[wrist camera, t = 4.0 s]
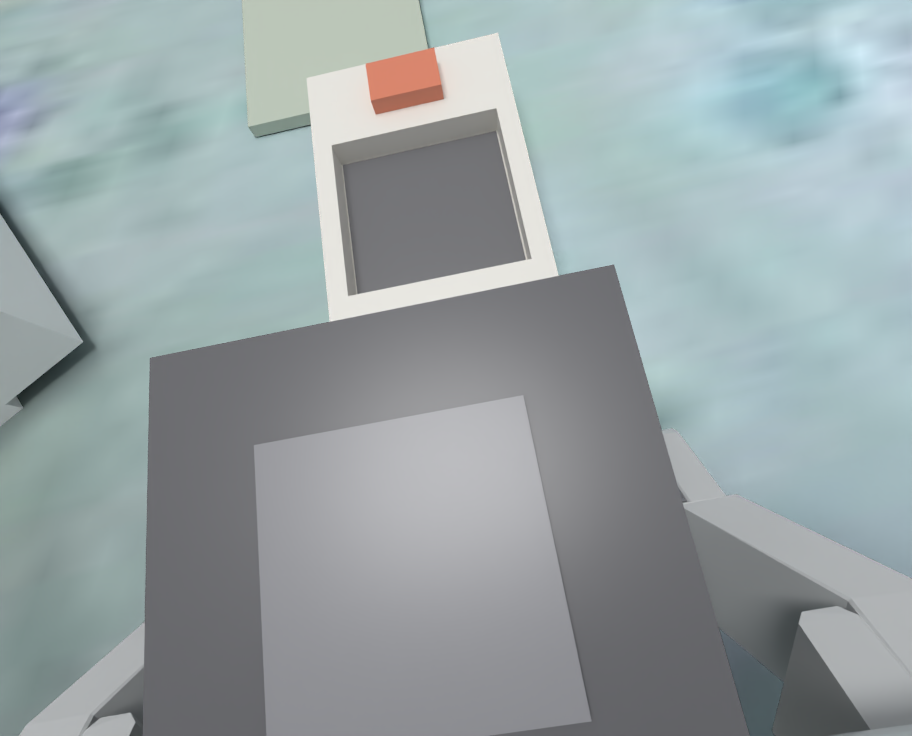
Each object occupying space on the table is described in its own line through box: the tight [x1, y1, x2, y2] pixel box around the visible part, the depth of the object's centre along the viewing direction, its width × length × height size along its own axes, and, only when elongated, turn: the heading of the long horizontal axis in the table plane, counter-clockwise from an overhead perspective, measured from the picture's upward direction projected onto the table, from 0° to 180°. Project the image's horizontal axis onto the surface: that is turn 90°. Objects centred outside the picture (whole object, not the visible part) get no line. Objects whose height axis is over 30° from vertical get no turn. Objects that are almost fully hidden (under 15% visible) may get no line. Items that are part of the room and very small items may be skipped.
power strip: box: [307, 33, 559, 322], centre depth 15 cm, size 22×7×4 cm, turn 9°
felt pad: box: [242, 0, 428, 137], centre depth 21 cm, size 8×8×1 cm
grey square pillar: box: [143, 265, 750, 736], centre depth 9 cm, size 4×4×10 cm
